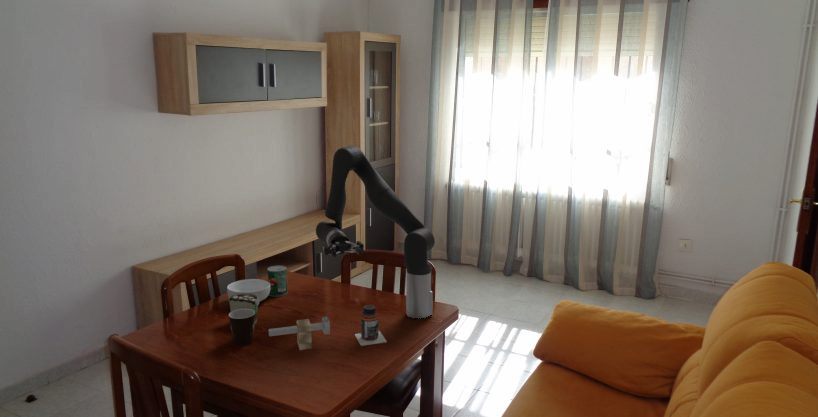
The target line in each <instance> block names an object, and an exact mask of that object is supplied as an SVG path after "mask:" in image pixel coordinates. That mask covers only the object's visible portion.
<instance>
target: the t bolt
mask: <svg viewBox="0 0 818 417" xmlns="http://www.w3.org/2000/svg"><path fill="white" fill-rule="evenodd" d="M330 323H331V321H330V319H329V317H328V316H322V317H321V322H315V323H311V332H315V331H321V330H322V332H323V333H324V335H330V334H331V324H330ZM267 330H268V337H273V336H283V335H291V334H297V333H298V326H297V325H292V326H283V327H277V328H276V327H274V328H268V329H267Z"/></svg>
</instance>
